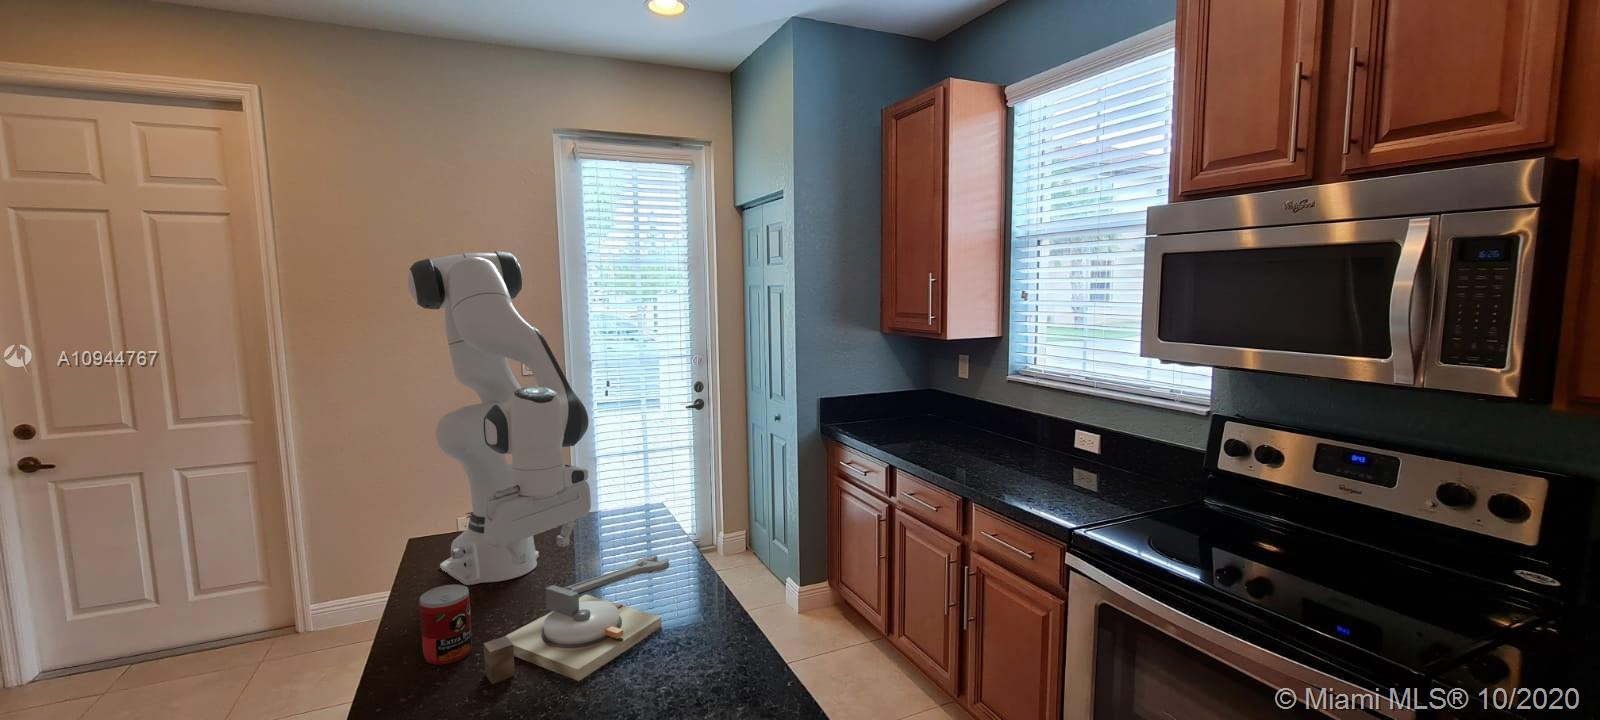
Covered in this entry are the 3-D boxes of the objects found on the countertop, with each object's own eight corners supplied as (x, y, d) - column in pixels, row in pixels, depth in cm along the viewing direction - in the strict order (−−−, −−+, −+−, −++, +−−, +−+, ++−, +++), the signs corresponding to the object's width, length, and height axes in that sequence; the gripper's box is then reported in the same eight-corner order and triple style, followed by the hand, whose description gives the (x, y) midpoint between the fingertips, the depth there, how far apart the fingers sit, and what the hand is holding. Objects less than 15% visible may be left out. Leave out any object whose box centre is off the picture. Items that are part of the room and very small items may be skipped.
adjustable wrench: (563, 600, 139) (562, 592, 139) (552, 590, 144) (552, 582, 144) (672, 568, 154) (671, 560, 154) (659, 559, 159) (659, 552, 159)
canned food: (440, 670, 113) (435, 608, 112) (414, 657, 117) (409, 597, 116) (482, 649, 119) (478, 590, 118) (456, 637, 124) (452, 580, 122)
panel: (499, 650, 119) (498, 637, 119) (586, 603, 136) (585, 592, 136) (578, 681, 109) (578, 667, 109) (661, 627, 126) (661, 615, 126)
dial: (521, 630, 121) (519, 600, 120) (577, 601, 132) (576, 573, 132) (592, 656, 112) (590, 624, 112) (646, 622, 123) (645, 593, 123)
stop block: (492, 684, 109) (490, 652, 108) (485, 674, 111) (483, 643, 111) (515, 675, 111) (513, 644, 110) (508, 666, 114) (506, 635, 113)
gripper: (497, 498, 109) (501, 580, 110) (595, 468, 126) (597, 539, 128) (473, 491, 112) (477, 571, 113) (572, 463, 129) (574, 532, 131)
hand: (541, 554), depth 121 cm, fingers open, 8 cm apart
